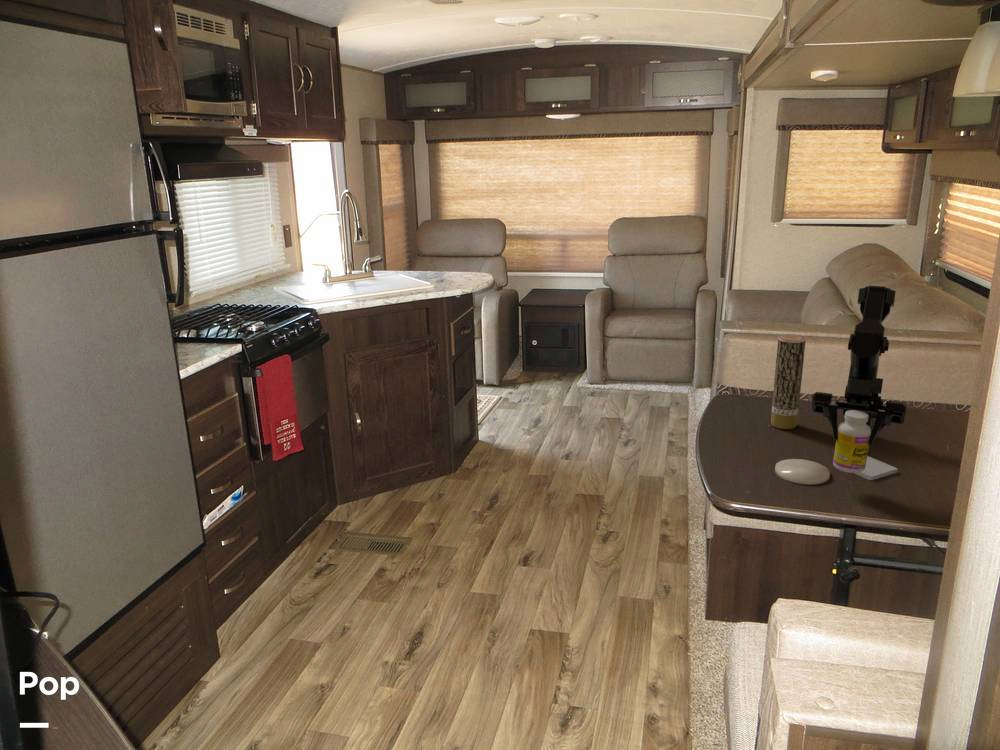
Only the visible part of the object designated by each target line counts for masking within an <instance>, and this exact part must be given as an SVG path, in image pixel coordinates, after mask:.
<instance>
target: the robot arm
mask: <svg viewBox="0 0 1000 750" xmlns="http://www.w3.org/2000/svg"><path fill="white" fill-rule="evenodd" d="M896 293H897V292H896V290H894V289H892V288H889V287H886V286H881V285H868V286H865V287H861V288H859V289H858V296H857V302H856V303H857V305H860V306H859V311H860V314H861V316H862V319H861V321H860V322H859V323H858V324H855V328H854V331H853V333H850V335H849V339H848V342H847V343H848V345H847V351H850V364H849V365H850V366H849V372H848V377H847V378H848V379H847V383H846V385H845V391H844V400H842V399H841V400H840V399H836V398H833V393H829V392H820V391H816V392H814V393H813V395H812V400H811V406H812V407H811V408H812V412H814V413H817V414H822V416H823V417H824V418H827V419H828V422H829V424H830V427H831V431H832V435H833V440H834V441H835V442H836V439H837V432H838V409H839V410H843V411H842V415H844V416H845V412H846V411H849V410H857V411H862V412H865V413H867V414H868V415H869V417H868V421H867V423H866V424H867V425H868V426H869V427H870V428H871V436H870V441H869V447H870V446H872V445H873V443H874V441H875V440H876V438H877V437H878V435H879V433H880V432H881V431H882V430H883V429H884V428H885V427H886V426H887V427H888V426H891V425H892V424H898V425H902V424H904V423H905V422H904V421H905V416H906V410H907V405H906V404H905V402H903V401H893V400H888V399H886V401H885V402H886V403H885V405H884V401H883V400H882V396H881V395H880V394H882V390H883V385H884V384H883V382H884V378H881V377H880V378H879V377H878V370H879V365H880V364H879V362H880V357H881V356H882V354H885V353H886V352H888V351H889V348H890V347H889V346H890V342H889V339H888V337H887V336H885V329H886V327H885V326H884V325H883V322H884V321H885V320H886V318H887V317H888V316H889V315H890V314H891V307H893V308H894V305H895V299H896ZM874 419H875V420H874Z"/></svg>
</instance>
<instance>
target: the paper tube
mask: <svg viewBox="0 0 1000 750" xmlns="http://www.w3.org/2000/svg"><path fill="white" fill-rule="evenodd" d="M806 342H807V341H806V337H805V336H803V335H800V334H793V333H792V334H790V333H789V334H786V333H785V334H779V335H778V338H777V345H776V346H777V349H776V358H775V370H774V382H773V383H774V384H773V392H772V393H773V394H772V402H771V403H772V405H771V415H770V424H771V426H772V427H774V428H777V429H780V430H793V429H795V428H796V427H797V426H798V420H799V409H800V401H801V390H802V389H801V388H802V380H803V371H804V361H805V359H804V358H805V351H806V350H805V349H806Z"/></svg>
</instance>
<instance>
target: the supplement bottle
mask: <svg viewBox="0 0 1000 750" xmlns="http://www.w3.org/2000/svg"><path fill="white" fill-rule="evenodd" d="M868 417H869V415H868V414H867V413H865V412H862V411H857V410H849V411H846V412H845V415H844V421H841V422H840V423H839V424H838V425H837V439H836V441H835V445H834V453H833V459H832V464H833V466H834V467H835V468H836V469H837V470H839V471H842V472H845V473H851V474H855V473H858V472H862V471H864V469H865V466H866V461H867V456H868V454H869V449H870V446H869V441H870V436H871V428H870V427H869V426H868V425H867V424H866V423H867V421H868Z"/></svg>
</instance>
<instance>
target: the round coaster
mask: <svg viewBox="0 0 1000 750" xmlns="http://www.w3.org/2000/svg"><path fill="white" fill-rule="evenodd" d="M774 473H775V475H776V476H777V477H779V478H781V479H783V480H785V481H786V482H791V483H794V484H798V485H804V486H805V485H806V486H807V485H809V486H811V485H820V484H824V483H826V482H828V481H829V480H830V475H831V471H830V470H829V469H828V468H827V467H826V466H824V465H822V464H820V463H819V462H817V461H816V462H815V461H812V460H808V459H803V458H802V459H800V458H790V459H789V458H788V459H782V460H780V461H778V462H776V464H775V467H774Z"/></svg>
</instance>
